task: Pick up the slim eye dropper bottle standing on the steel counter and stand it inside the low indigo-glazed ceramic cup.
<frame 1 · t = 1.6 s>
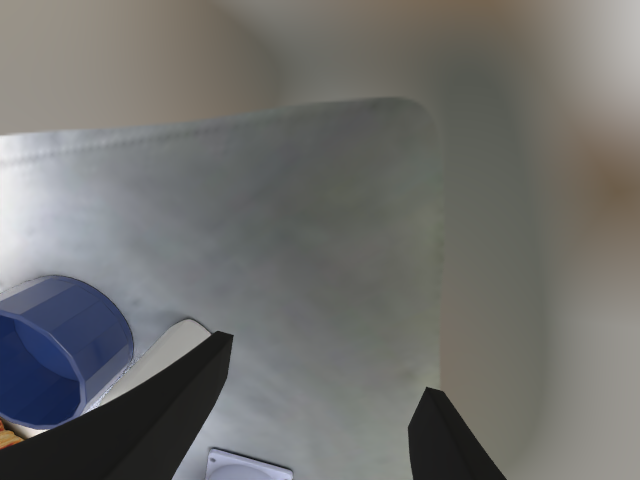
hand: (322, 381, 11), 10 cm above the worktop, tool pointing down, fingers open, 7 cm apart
croissant: (35, 470, 33), on the worktop
cup: (74, 331, 26), on the worktop
eye dropper bottle: (202, 345, 25), on the worktop
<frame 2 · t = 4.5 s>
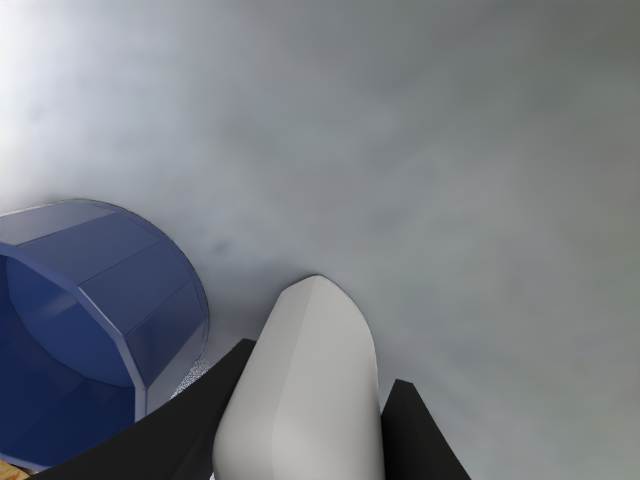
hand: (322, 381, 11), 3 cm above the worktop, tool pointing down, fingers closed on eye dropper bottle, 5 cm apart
cup: (109, 302, 15), on the worktop
eye dropper bottle: (330, 323, 14), on the worktop, touching gripper
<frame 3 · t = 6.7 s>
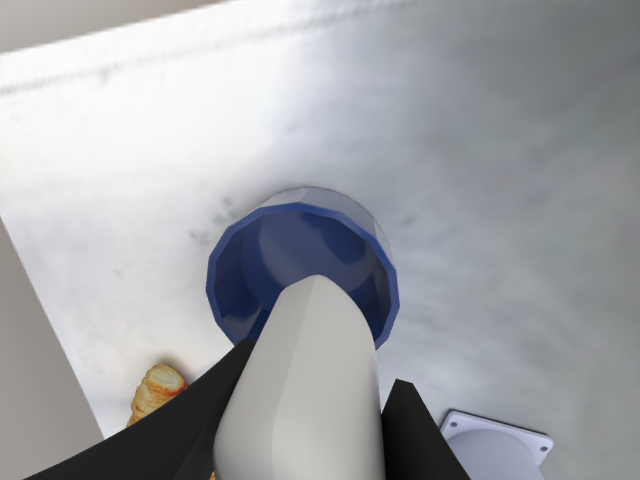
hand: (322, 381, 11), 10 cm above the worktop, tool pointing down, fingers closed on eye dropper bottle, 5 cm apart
croissant: (203, 443, 29), on the worktop
cup: (311, 263, 21), on the worktop
eye dropper bottle: (330, 322, 14), point 7 cm above the worktop, touching gripper
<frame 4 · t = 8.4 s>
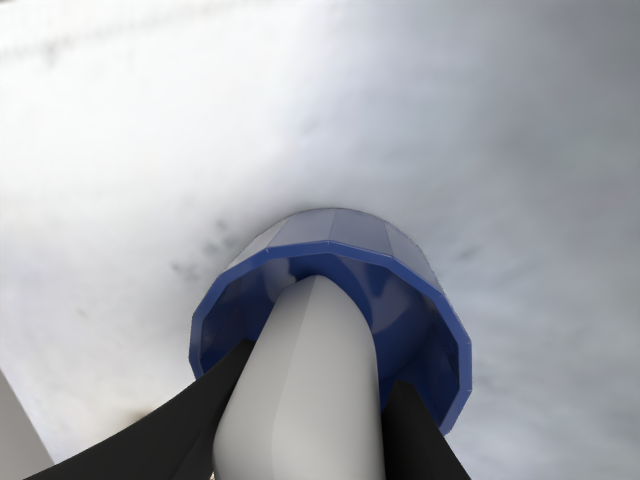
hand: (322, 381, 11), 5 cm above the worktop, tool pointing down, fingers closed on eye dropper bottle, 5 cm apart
cup: (333, 306, 16), on the worktop
eye dropper bottle: (330, 322, 14), point 2 cm above the worktop, touching gripper
when the fingers open (4 cm above the worktop, at t = 9.3 s): eye dropper bottle stays where it is, resting on cup.
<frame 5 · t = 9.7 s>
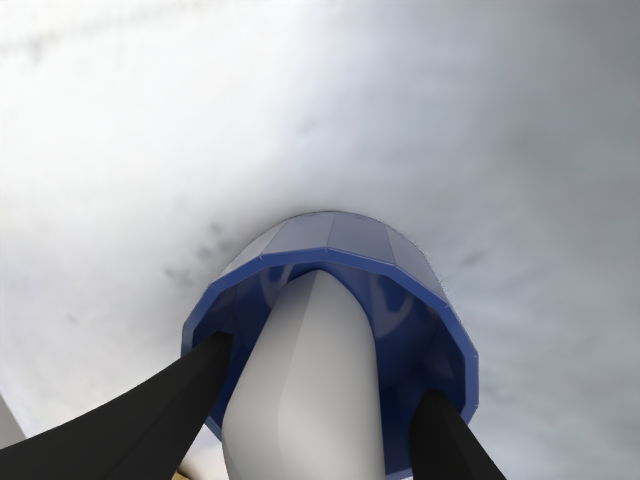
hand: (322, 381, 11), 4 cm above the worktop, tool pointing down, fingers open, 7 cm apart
cup: (332, 312, 15), on the worktop
eye dropper bottle: (331, 316, 15), resting on cup
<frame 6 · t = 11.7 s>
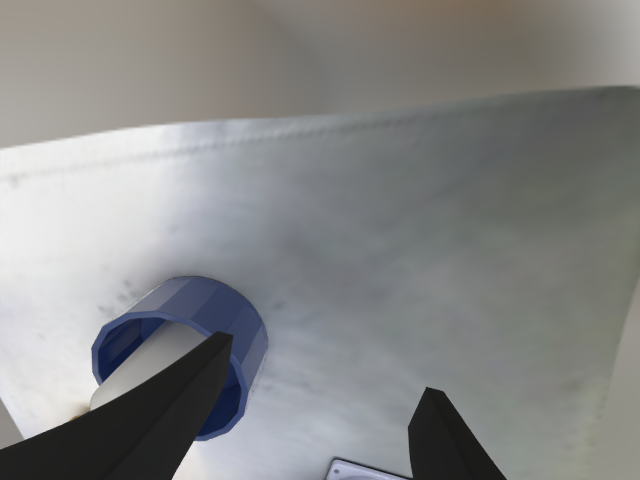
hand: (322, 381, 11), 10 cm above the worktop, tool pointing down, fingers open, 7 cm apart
cup: (203, 335, 24), on the worktop
eye dropper bottle: (200, 338, 24), resting on cup
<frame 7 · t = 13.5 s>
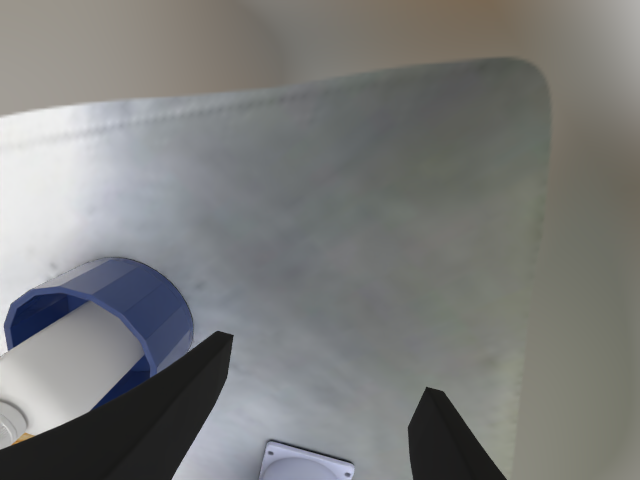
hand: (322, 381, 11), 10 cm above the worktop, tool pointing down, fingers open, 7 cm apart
cup: (131, 317, 24), on the worktop
eye dropper bottle: (127, 319, 24), resting on cup
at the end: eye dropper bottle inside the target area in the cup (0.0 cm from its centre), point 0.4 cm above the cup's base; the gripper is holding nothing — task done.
